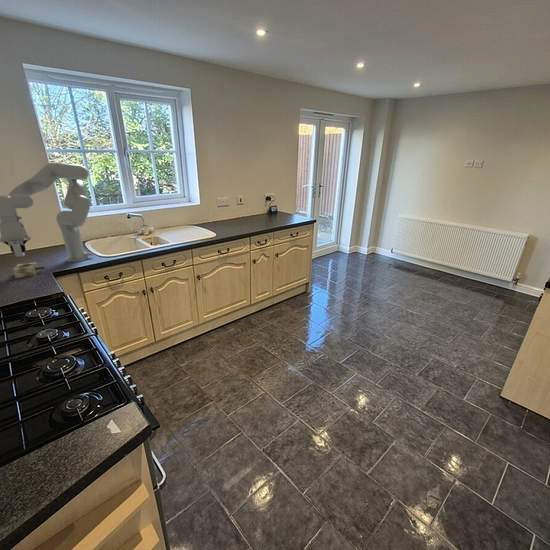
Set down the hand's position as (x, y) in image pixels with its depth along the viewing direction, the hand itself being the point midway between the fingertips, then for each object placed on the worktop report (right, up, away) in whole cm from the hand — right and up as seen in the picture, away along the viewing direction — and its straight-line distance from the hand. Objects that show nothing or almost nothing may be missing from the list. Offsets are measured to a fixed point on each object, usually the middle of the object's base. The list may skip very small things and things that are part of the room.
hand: (19, 252), depth 166 cm
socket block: (+2, -12, +6) cm, 14 cm away
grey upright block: (0, -2, +1) cm, 2 cm away
